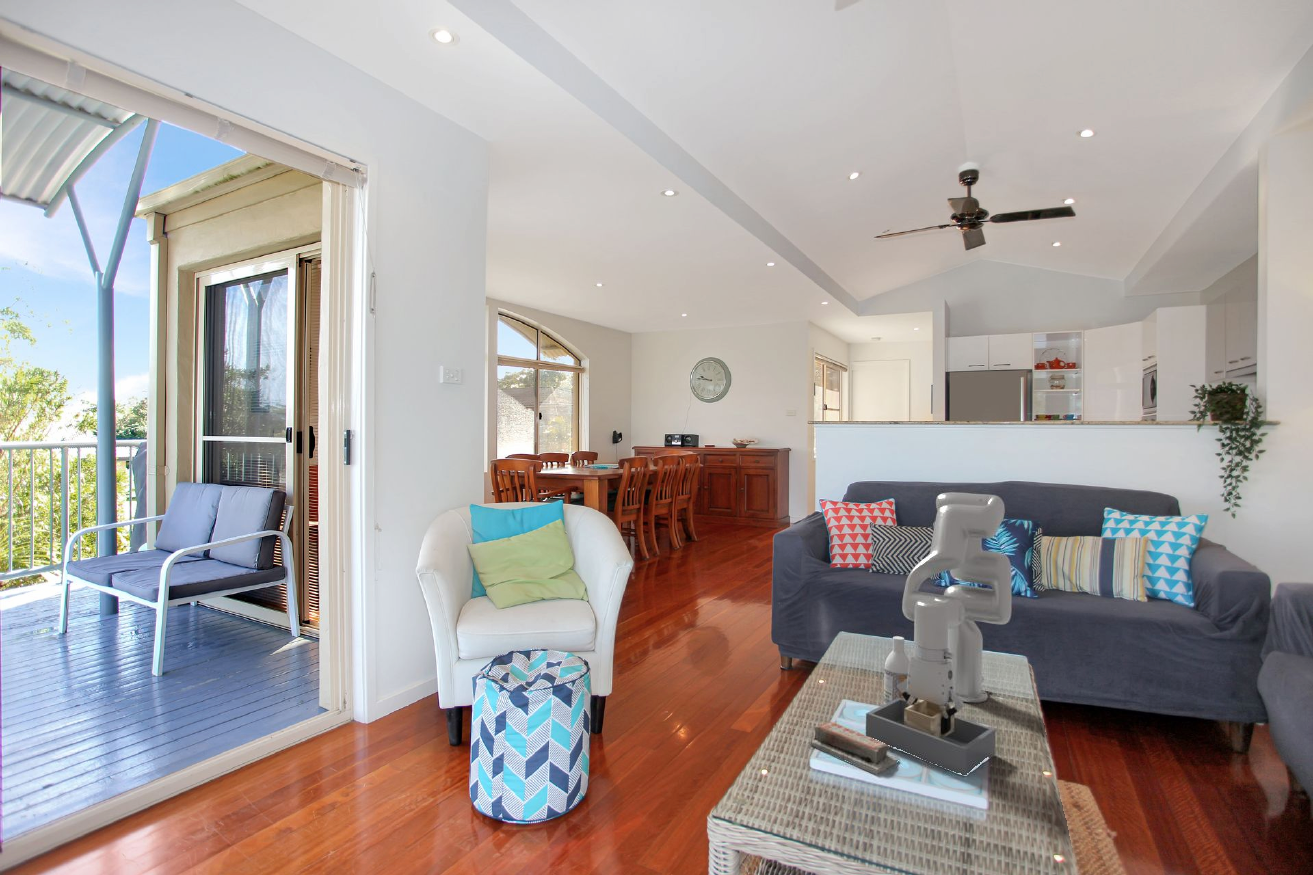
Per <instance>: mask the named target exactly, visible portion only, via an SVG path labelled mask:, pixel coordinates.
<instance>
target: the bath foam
mask: <svg viewBox="0 0 1313 875" xmlns="http://www.w3.org/2000/svg"><path fill="white" fill-rule="evenodd" d="M909 663H910V659H909V658H908V655H907V654H906V652H905V638H904V637H903V636H898V635H896V636H893V637H892V651H891V652H890V653H889V654H888V656H887V658H886V659H885V663H884V671H883V673H884V674H883V676H884V678H883V705H884V704H886V703H888V702H891V701H893V700H895V699H897V698H902V699H904V697H903V696H902V693H901V692H900V690H899V688H898V687H897V685H898V684H900V683H901V682H903V681H905V680H906V679H907V676H908V668H909ZM906 689H907V686H906Z"/></svg>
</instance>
